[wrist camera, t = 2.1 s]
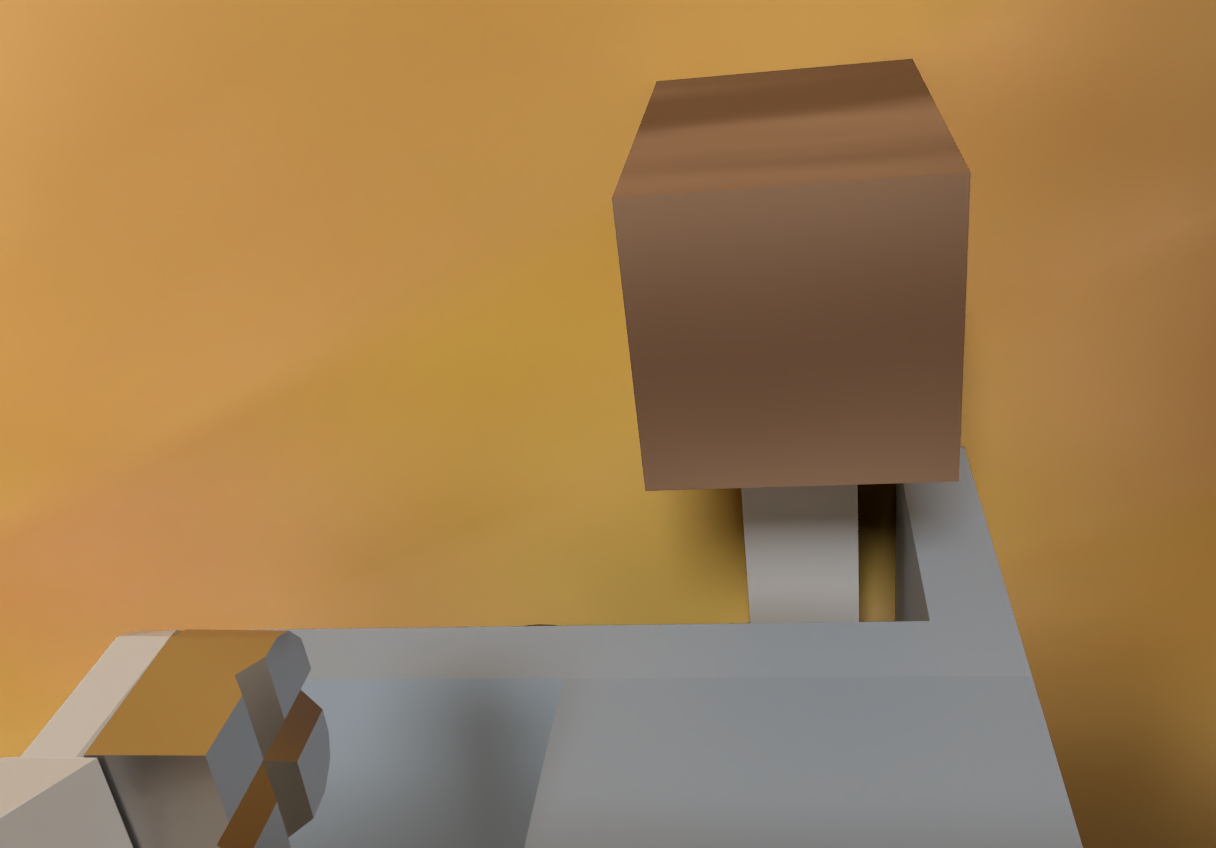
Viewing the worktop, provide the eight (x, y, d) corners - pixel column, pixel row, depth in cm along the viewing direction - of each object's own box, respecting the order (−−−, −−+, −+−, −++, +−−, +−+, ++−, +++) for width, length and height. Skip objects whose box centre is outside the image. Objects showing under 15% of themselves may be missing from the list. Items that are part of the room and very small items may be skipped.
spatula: (657, 81, 18) (611, 198, 13) (912, 59, 18) (970, 172, 13) (724, 828, 26) (713, 1083, 21) (902, 831, 26) (936, 1095, 21)
